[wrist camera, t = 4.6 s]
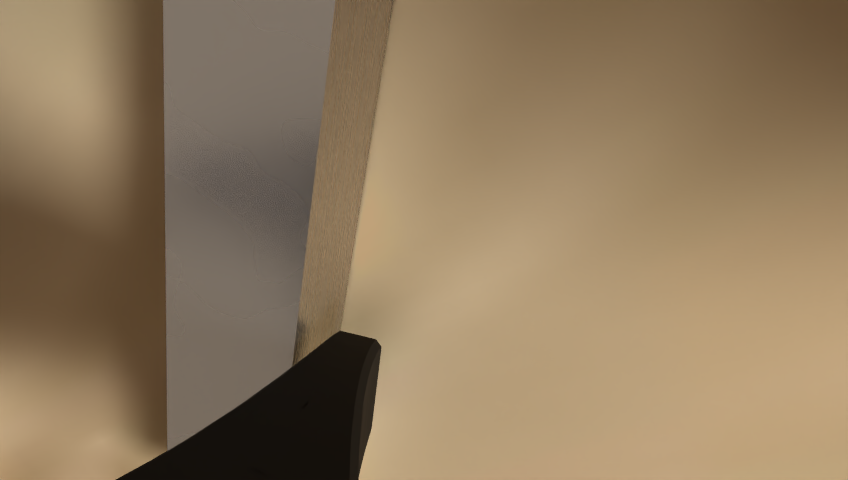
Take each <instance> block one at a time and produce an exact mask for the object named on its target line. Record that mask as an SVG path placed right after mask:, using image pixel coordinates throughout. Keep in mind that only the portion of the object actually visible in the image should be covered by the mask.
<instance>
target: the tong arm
mask: <svg viewBox="0 0 848 480" xmlns="http://www.w3.org/2000/svg"><path fill="white" fill-rule="evenodd" d="M392 4H393V0H163V49H164V153H165V256H166V359H167V451H168V450H170V449H171V448H173V447H175V446H176V445H178V444H180V443H181V442H183V441H185V440H186V439H188V438H190V437H191V436H193V435H194V434H196V433H197V432H199V431H200V430H202V429H204V428H205V427H207V426H208V425H210V424H211V423H213V422H214V421H216V420H217V419H219V418H221V417H222V416H224V415H225V414H227V413H228V412H230V411H231V410H233V409H234V408H236V407H237V406H239V405H240V404H242V403H243V402H245V401H246V400H247V399H249V398H250V397H252V396H253V395H254V394H256V393H257V392H258V391H260V390H261V389H263V388H264V387H265V386H267V385H268V384H270V383H271V382H272V381H274V380H275V379H276V378H278V377H279V376H281V375H282V374H283V373H285V372H286V371H287V370H288V369H290V368H291V367H292V366H294V365H295V364H296V363H298V362H299V361H300V360H302V359H303V358H304V357H305V356H307V355H308V354H309V353H311V352H312V351H313V350H314V349H316V348H317V347H318V346H319V345H321V344H322V343H323V342H324V341H326V340H327V339H328V338H329V337H331V336H332V335H333V334H335V333H337V332H339V331H340V326H341V320H342V314H343V308H344V301H345V295H346V289H347V283H348V277H349V270H350V264H351V258H352V252H353V246H354V239H355V233H356V227H357V221H358V215H359V208H360V202H361V196H362V190H363V184H364V177H365V171H366V165H367V159H368V153H369V146H370V140H371V134H372V128H373V122H374V115H375V109H376V103H377V97H378V90H379V84H380V78H381V72H382V66H383V59H384V53H385V47H386V41H387V35H388V28H389V22H390V16H391V10H392Z"/></svg>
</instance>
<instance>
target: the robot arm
mask: <svg viewBox="0 0 848 480" xmlns="http://www.w3.org/2000/svg"><path fill="white" fill-rule="evenodd" d="M380 355H381V346H380V344H379V343H378V342H377V340H376V339H372V338H368V337H364V336H359V335H355V334H351V333H347V332H343V331H339V332H337V333H335V334H333V335H332V336H331V337H329V338H328V339H327V340H326V341H324V342H323V343H322V344H321V345H319V346H318V347H317V348H316V349H314V350H313V351H312V352H311V353H309V354H308V355H307V356H305V357H304V358H303V359H302V360H300V361H299V362H298V363H296V364H295V365H294V366H292V367H291V368H290V369H288V370H287V371H286V372H285V373H283V374H282V375H281V376H279V377H278V378H276V379H275V380H274V381H272V382H271V383H270V384H268V385H267V386H265V387H264V388H263V389H261V390H260V391H258V392H257V393H256V394H254V395H253V396H252V397H250V398H249V399H247V400H246V401H245V402H243V403H242V404H240V405H239V406H237V407H236V408H234V409H233V410H231V411H230V412H228V413H227V414H225V415H224V416H222V417H221V418H219V419H217V420H216V421H214V422H213V423H211V424H210V425H208V426H207V427H205V428H204V429H202V430H200V431H199V432H197V433H196V434H194V435H193V436H191V437H190V438H188V439H186V440H185V441H183V442H181V443H180V444H178V445H176V446H175V447H173V448H171V449H170V450H168V451H166V452H165V453H163V454H161V455H159V456H158V457H156V458H154V459H153V460H151V461H149V462H147V463H145V464H144V465H142V466H140V467H138V468H136V469H134V470H133V471H131V472H129V473H127V474H125V475H124V476H122V477H120V478H118V479H116V480H358V477H359V473H360V469H361V464H362V460H363V456H364V452H365V449H366V445H367V442H368V438H369V435H370V432H371V428H372V420H373V412H374V404H375V395H376V387H377V379H378V371H379V363H380Z"/></svg>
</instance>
